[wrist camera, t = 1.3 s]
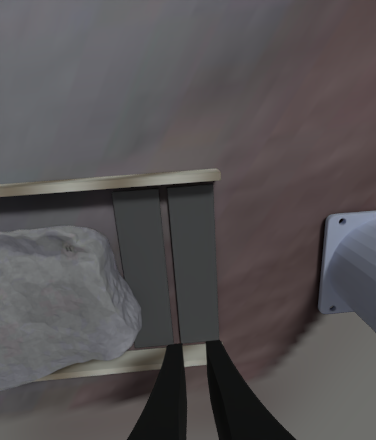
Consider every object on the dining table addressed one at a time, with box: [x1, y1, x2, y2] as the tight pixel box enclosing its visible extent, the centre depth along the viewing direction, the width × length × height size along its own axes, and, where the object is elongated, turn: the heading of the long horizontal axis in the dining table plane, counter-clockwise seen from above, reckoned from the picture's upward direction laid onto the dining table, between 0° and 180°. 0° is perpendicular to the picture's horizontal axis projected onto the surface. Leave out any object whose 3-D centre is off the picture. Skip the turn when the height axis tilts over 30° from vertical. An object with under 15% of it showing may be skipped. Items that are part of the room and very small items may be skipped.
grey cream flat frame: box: [0, 168, 223, 382], centre depth 19 cm, size 24×14×2 cm, turn 94°
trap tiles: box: [112, 184, 219, 348], centre depth 20 cm, size 7×12×1 cm, turn 4°
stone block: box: [0, 225, 142, 391], centre depth 19 cm, size 12×5×10 cm
